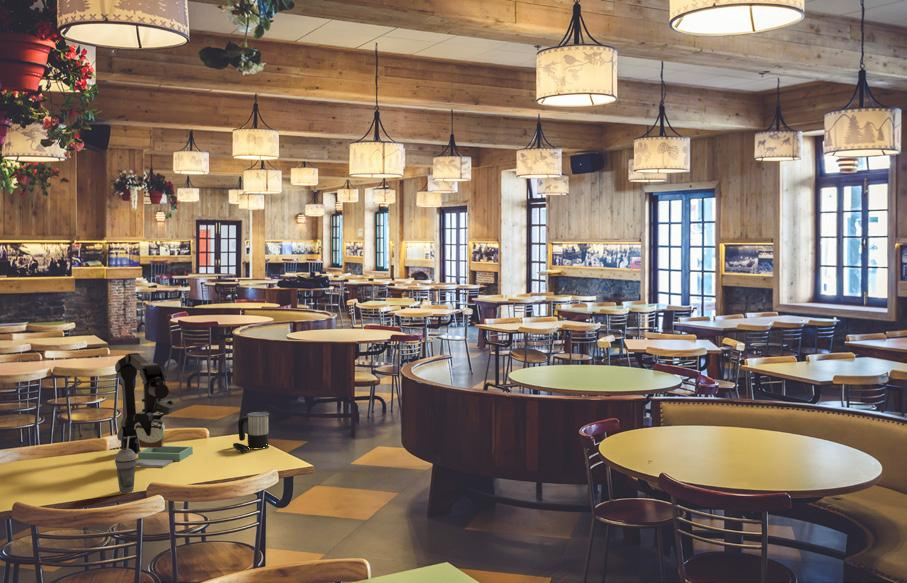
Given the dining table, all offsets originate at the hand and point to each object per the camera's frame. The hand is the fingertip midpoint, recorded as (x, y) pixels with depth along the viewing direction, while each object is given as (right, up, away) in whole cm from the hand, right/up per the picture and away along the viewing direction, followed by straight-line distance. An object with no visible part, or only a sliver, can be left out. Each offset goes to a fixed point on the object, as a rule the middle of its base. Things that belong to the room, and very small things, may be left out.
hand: (152, 434), depth 327 cm
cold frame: (+1, -12, +12) cm, 17 cm away
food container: (0, -5, +2) cm, 5 cm away
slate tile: (0, -12, 0) cm, 12 cm away
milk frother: (+34, -11, +24) cm, 43 cm away
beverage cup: (+4, -14, -37) cm, 40 cm away
